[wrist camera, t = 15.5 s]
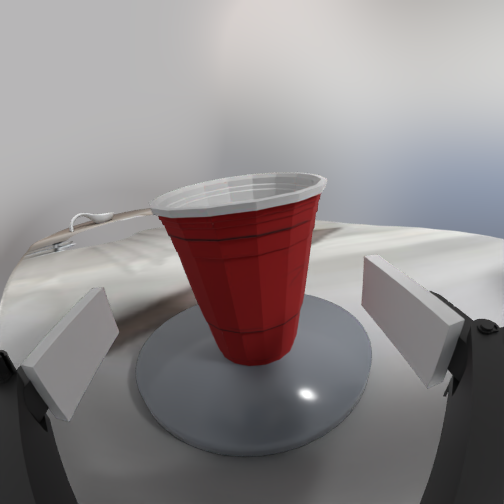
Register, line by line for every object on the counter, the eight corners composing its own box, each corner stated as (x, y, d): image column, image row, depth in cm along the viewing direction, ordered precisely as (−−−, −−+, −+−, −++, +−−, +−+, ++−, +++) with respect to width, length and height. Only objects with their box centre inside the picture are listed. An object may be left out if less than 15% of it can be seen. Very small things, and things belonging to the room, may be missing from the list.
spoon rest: (110, 218, 123) (107, 205, 120) (118, 219, 115) (115, 204, 113) (68, 232, 106) (65, 217, 103) (73, 233, 98) (70, 217, 96)
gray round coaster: (301, 289, 31) (300, 277, 30) (417, 381, 14) (422, 366, 14) (143, 327, 26) (139, 314, 25) (149, 483, 10) (138, 472, 9)
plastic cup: (162, 384, 16) (107, 203, 12) (211, 307, 26) (190, 181, 22) (331, 398, 14) (337, 177, 10) (325, 307, 24) (321, 169, 20)
